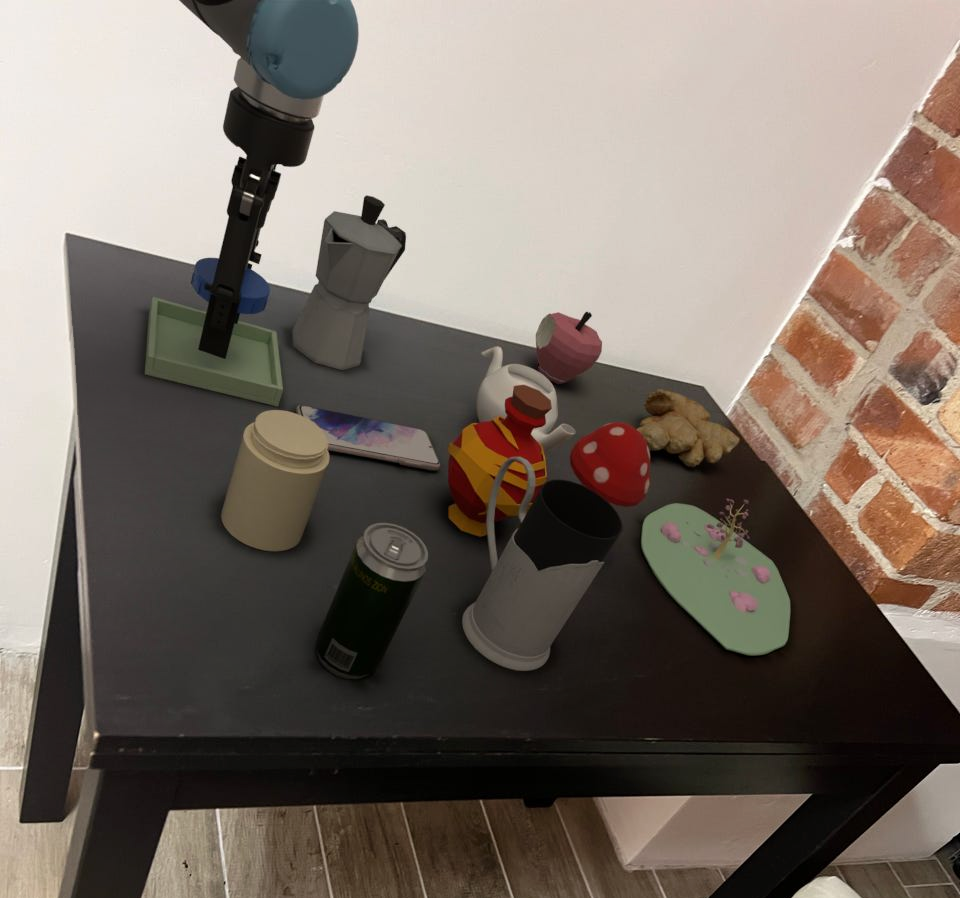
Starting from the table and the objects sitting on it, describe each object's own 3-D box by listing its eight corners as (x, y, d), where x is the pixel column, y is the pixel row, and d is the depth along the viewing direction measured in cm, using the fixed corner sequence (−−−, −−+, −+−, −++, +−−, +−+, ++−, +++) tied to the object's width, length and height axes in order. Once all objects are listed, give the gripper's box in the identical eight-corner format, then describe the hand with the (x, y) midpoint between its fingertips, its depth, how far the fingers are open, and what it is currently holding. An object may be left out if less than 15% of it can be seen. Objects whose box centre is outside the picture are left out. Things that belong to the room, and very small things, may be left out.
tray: (144, 374, 89) (148, 355, 88) (148, 314, 97) (152, 296, 96) (278, 407, 94) (283, 389, 93) (271, 347, 102) (276, 331, 101)
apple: (519, 351, 130) (549, 287, 124) (572, 370, 133) (604, 308, 127) (528, 385, 123) (561, 319, 117) (584, 404, 126) (619, 341, 120)
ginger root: (707, 424, 136) (738, 385, 130) (716, 502, 127) (750, 465, 121) (614, 390, 132) (641, 348, 125) (616, 469, 123) (646, 428, 117)
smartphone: (296, 402, 95) (426, 429, 102) (293, 410, 95) (424, 436, 102) (307, 441, 90) (443, 466, 97) (304, 449, 91) (439, 473, 98)
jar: (221, 543, 76) (249, 447, 70) (220, 490, 81) (245, 396, 75) (305, 557, 79) (338, 467, 73) (299, 506, 84) (330, 417, 78)
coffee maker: (319, 379, 102) (370, 224, 91) (262, 336, 103) (305, 179, 92) (395, 357, 113) (448, 217, 102) (342, 318, 115) (389, 176, 104)
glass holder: (493, 677, 78) (572, 547, 69) (417, 564, 85) (480, 433, 76) (566, 663, 84) (648, 541, 74) (489, 559, 90) (556, 435, 81)
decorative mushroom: (523, 507, 100) (585, 391, 91) (591, 527, 103) (659, 417, 94) (535, 564, 93) (604, 445, 84) (608, 585, 96) (683, 472, 87)
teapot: (494, 400, 116) (525, 336, 110) (567, 502, 105) (605, 436, 99) (430, 392, 110) (459, 323, 105) (500, 498, 99) (536, 428, 94)
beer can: (368, 692, 71) (422, 581, 64) (304, 664, 70) (351, 549, 63) (385, 649, 75) (437, 541, 68) (324, 623, 74) (371, 510, 67)
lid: (270, 293, 95) (274, 277, 94) (260, 323, 89) (265, 306, 88) (198, 265, 93) (202, 249, 91) (184, 295, 87) (188, 277, 86)
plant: (834, 672, 102) (888, 616, 97) (688, 648, 94) (737, 585, 88) (746, 530, 119) (788, 476, 113) (614, 499, 110) (652, 438, 105)
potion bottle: (410, 483, 94) (465, 357, 85) (493, 492, 100) (554, 374, 91) (445, 552, 88) (509, 424, 79) (531, 557, 94) (600, 438, 85)
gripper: (248, 58, 86) (199, 282, 100) (212, 115, 71) (161, 368, 85) (324, 92, 88) (266, 307, 102) (305, 155, 73) (241, 395, 88)
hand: (218, 334), depth 94 cm, fingers closed on lid, 7 cm apart
